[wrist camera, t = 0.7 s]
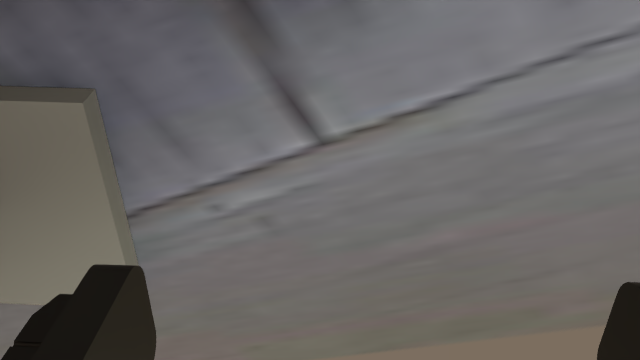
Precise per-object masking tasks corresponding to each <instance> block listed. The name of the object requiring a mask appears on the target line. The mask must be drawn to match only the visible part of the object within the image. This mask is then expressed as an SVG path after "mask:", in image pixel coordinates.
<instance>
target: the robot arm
mask: <svg viewBox="0 0 640 360" xmlns="http://www.w3.org/2000/svg"><path fill="white" fill-rule="evenodd" d="M155 350H156V330H155V325H154V320H153V315H152V310H151V305H150V300H149V295H148V290H147V285H146V280H145V276H144V272H143V270H142V268H141V267H140V266H137V265H105V264H95V265H93V266H91V267H90V268H89V270H88V271H87V273H86V274H85V276H84V277H83V279H82V280H81V282H80V284H79V285H78V287H77V288H76V290H75V291H74V293H73V294H59V295H57V296H56V297H55V298H53V299H52V300H51V301H50V302H48V303H47V304H46V305H45V306H43V307H42V308H41V309H39V310H38V311H37V312H36V313H34V314H33V315H32V316H31V317H30V319H29V320H28V322H27V323H26V325H25V326H24V327H23V329H22V330H21V332H20V333H19V335H18V336H17V338H16V339H15V340H14V345H13V347H10V348H9V349H8V350H7V352H6V353H5V355H4V356H3V358H2V359H1V360H154V356H155ZM597 360H640V283H638V282H627V283H624V284H623V285H622V286H621V287H620V289H619V291H618V293H617V296H616V299H615V302H614V304H613V307H612V310H611V313H610V316H609V319H608V322H607V325H606V328H605V331H604V333H603V336H602V339H601V342H600V345H599V348H598V354H597Z"/></svg>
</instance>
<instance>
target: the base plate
mask: <svg viewBox="0 0 640 360" xmlns="http://www.w3.org/2000/svg"><path fill="white" fill-rule="evenodd" d="M95 264H105V265H137V266H139V265H138V261H137V257H136V253H135V249H134V245H133V241H132V237H131V233H130V229H129V225H128V221H127V217H126V213H125V209H124V205H123V200H122V196H121V192H120V188H119V184H118V180H117V176H116V172H115V168H114V164H113V160H112V156H111V152H110V148H109V144H108V140H107V136H106V132H105V128H104V124H103V119H102V115H101V111H100V107H99V103H98V99H97V95H96V91H95V89H85V88H50V87H15V86H0V303H6V304H30V305H46V304H47V303H48V302H50V301H51V300H52V299H53V298H55V297H56V296H57V295H59V294H73V293H74V291H75V290H76V288H77V287H78V285H79V284H80V282H81V280H82V279H83V277H84V276H85V274H86V273H87V271H88V270H89V268H90V267H91V266H93V265H95Z"/></svg>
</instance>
